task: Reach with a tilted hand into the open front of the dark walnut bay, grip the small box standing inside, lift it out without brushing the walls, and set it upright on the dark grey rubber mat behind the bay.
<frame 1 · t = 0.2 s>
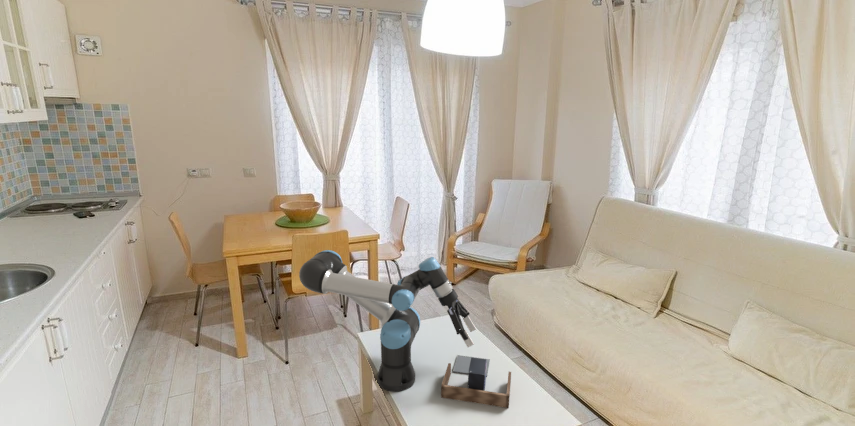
hand: (472, 337, 174), 15 cm above the table, tool tilted 30°, fingers open, 13 cm apart
small box: (476, 389, 167), on the table
walnut bay: (477, 388, 167), on the table
rubber mat: (471, 366, 181), on the table
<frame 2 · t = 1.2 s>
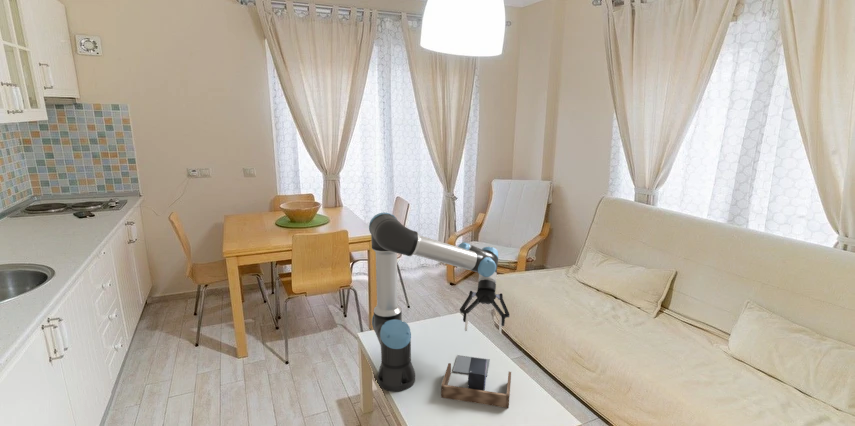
hand: (482, 331, 173), 18 cm above the table, tool tilted 45°, fingers open, 13 cm apart
nothing on the table moved.
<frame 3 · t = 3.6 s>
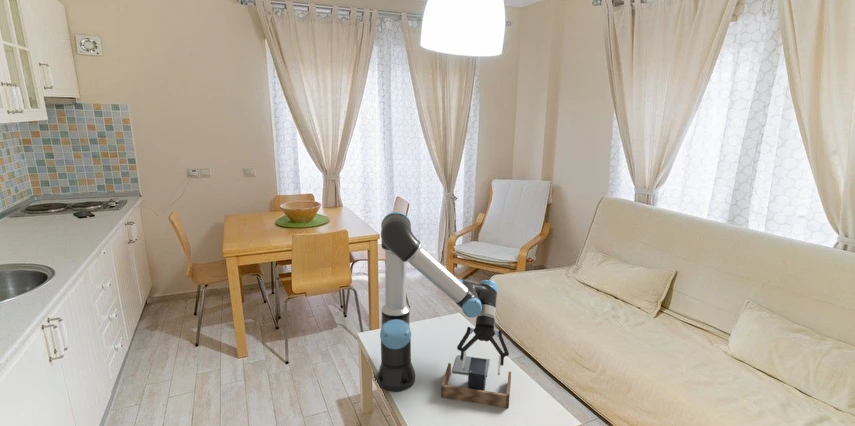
hand: (480, 371, 166), 7 cm above the table, tool tilted 45°, fingers open, 13 cm apart
nothing on the table moved.
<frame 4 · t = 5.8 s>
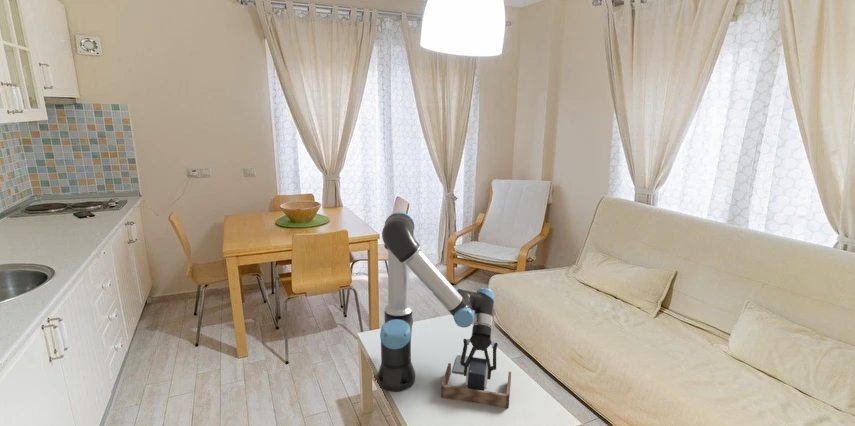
hand: (476, 386, 162), 4 cm above the table, tool tilted 45°, fingers closed on small box, 6 cm apart
small box: (476, 389, 167), on the table, touching gripper
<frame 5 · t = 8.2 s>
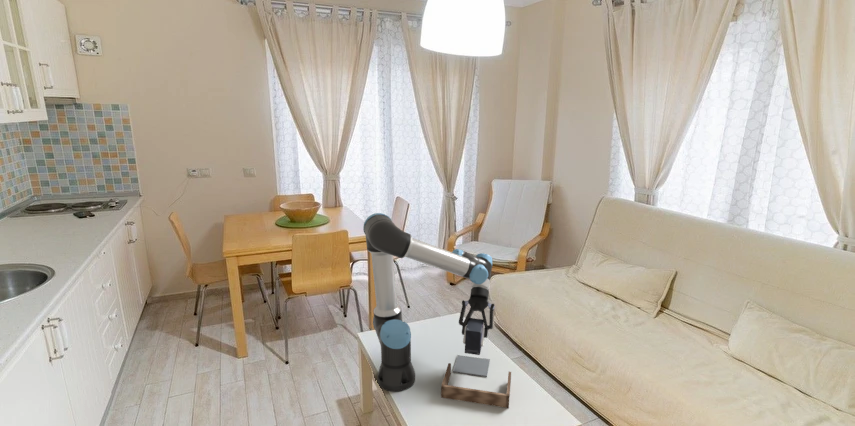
hand: (473, 344, 171), 14 cm above the table, tool tilted 45°, fingers closed on small box, 6 cm apart
small box: (474, 347, 176), point 11 cm above the table, touching gripper
when the fingers open (5 cm above the table, at t = 10.9 s): small box drops 1 cm, resting on rubber mat.
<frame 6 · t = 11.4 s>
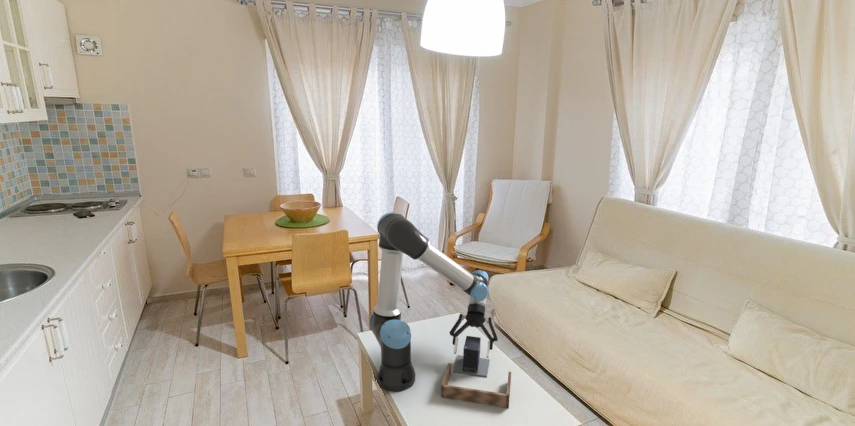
hand: (471, 355, 177), 7 cm above the table, tool tilted 45°, fingers open, 13 cm apart
small box: (471, 365, 181), resting on rubber mat
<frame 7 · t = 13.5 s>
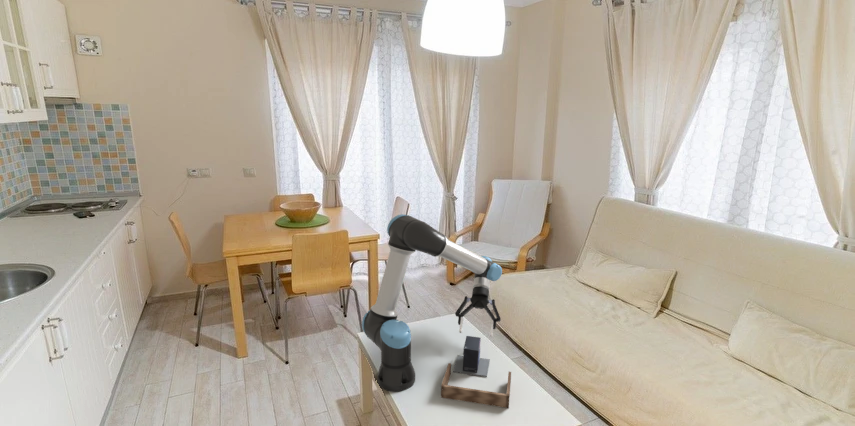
hand: (475, 334, 189), 9 cm above the table, tool tilted 45°, fingers open, 13 cm apart
nothing on the table moved.
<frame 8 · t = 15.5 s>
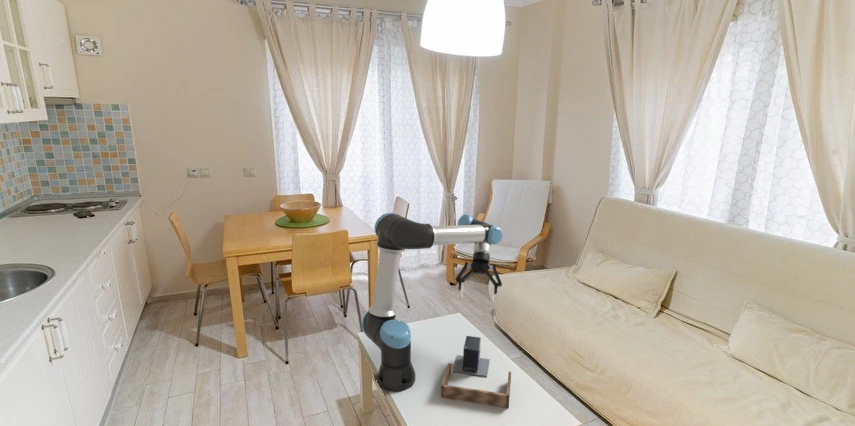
hand: (476, 299, 185), 26 cm above the table, tool tilted 45°, fingers open, 13 cm apart
nothing on the table moved.
at the end: small box inside the target area on the rubber mat (0.1 cm from its centre), point 0.4 cm above the rubber mat's base; small box tilted 0°; the gripper is holding nothing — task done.
